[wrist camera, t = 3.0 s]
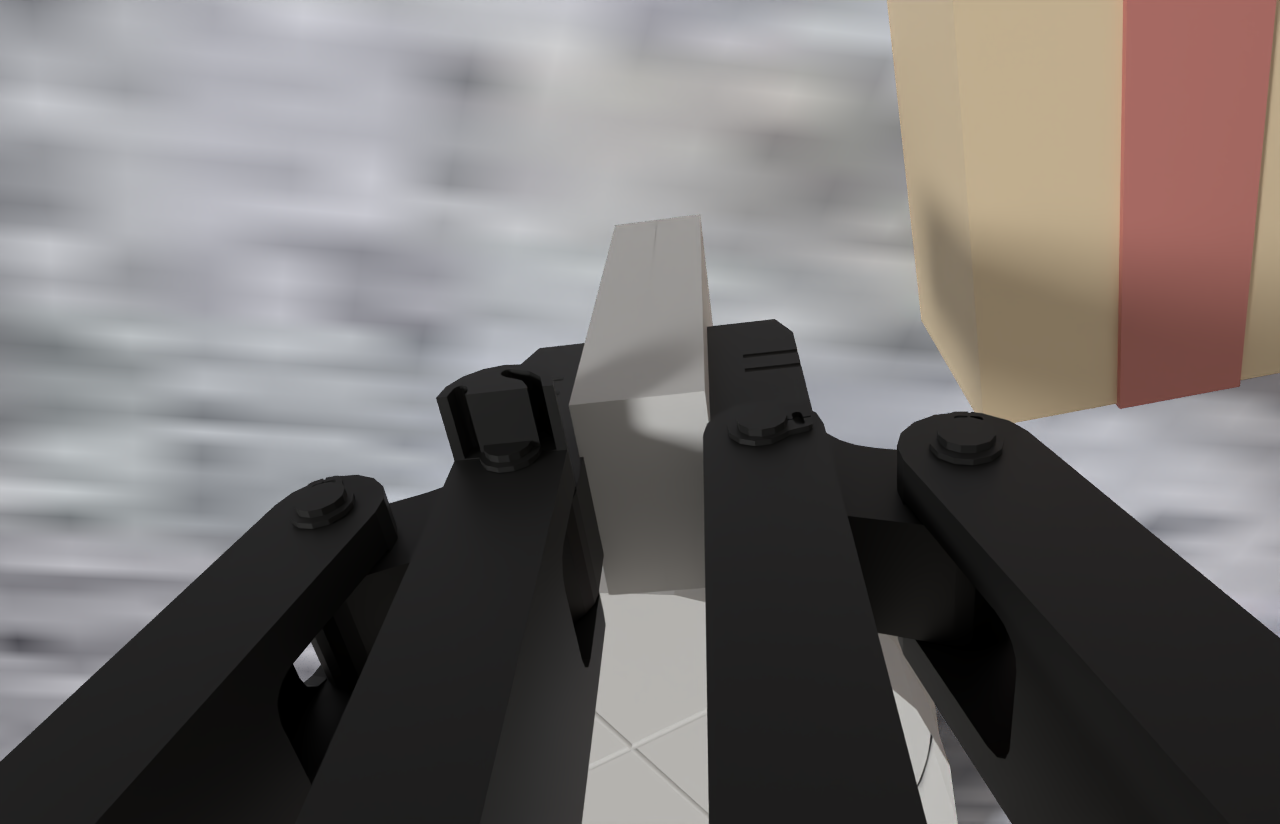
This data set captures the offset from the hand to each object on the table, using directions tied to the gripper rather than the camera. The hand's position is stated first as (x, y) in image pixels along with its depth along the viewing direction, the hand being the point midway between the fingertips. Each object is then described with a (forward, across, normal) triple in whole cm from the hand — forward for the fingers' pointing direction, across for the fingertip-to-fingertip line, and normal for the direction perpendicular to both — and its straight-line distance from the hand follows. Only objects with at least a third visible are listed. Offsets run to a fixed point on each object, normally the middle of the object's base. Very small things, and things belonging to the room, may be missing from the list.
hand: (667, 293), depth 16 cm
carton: (+8, +10, +1) cm, 13 cm away
